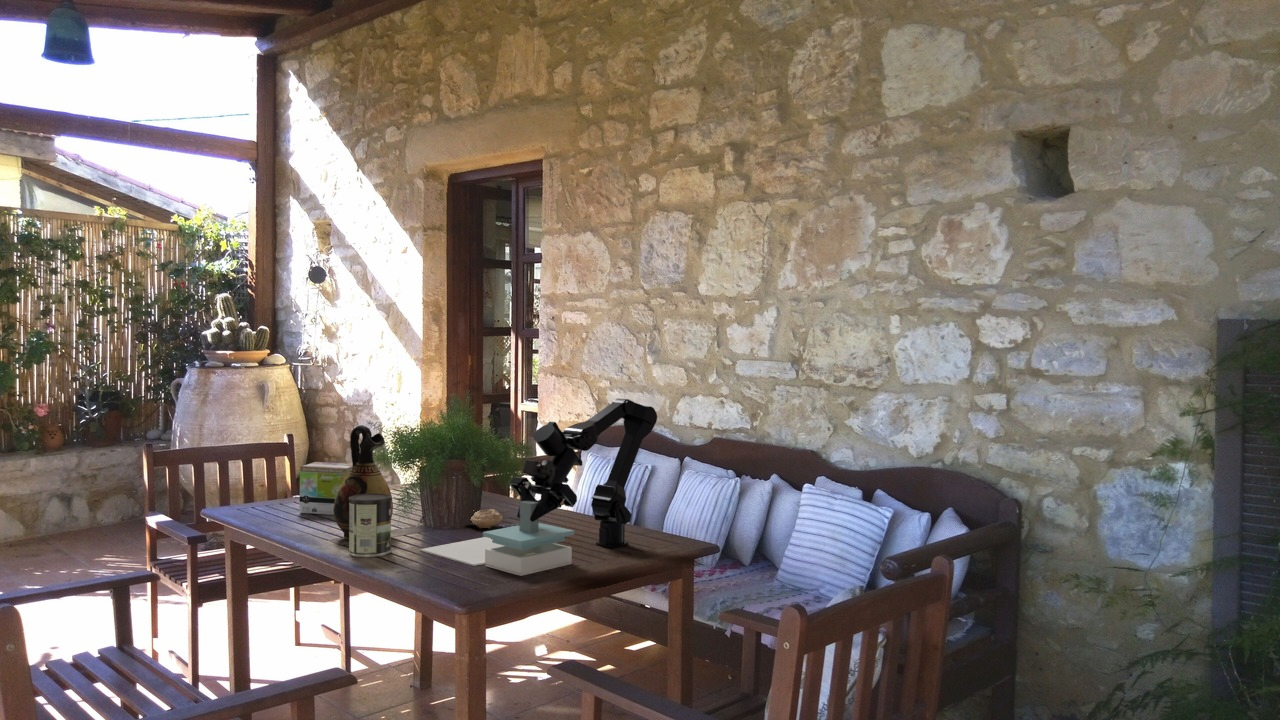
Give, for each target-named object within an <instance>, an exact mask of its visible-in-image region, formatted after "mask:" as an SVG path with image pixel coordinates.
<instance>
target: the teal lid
mask: <svg viewBox="0 0 1280 720" xmlns="http://www.w3.org/2000/svg"><path fill="white" fill-rule="evenodd" d="M538 503H539V501H538V502H533V501H528V500H527V501H521V500H520V501H519V506H520V519H519V521H518V522H519V525H513V526H508V527H504V528H499V529H493V530H492V529H491V530H486V531H483V532H482V537H487V538H492V543H496V544H500V545H504V546H508V547H512V548H516V549H520V550H524V549H529V548H533V547H538V546H543V545H547V544H552V543H555V544H558V543H561V542H565V541H566V539H565V537H569V536H575V529H568V528H565V527H560V526H557V525H556V526H555V525H550V524H547V523H546V524H545V523H542V522H539V521H540V520H539V519H540V518H538V519H537V520H535V521H533V522H532V521H531V520H530V517H531V515H532V513H533V511H534V510H535V508H536V506H537V504H538Z"/></svg>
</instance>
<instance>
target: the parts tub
mask: <svg viewBox="0 0 1280 720" xmlns="http://www.w3.org/2000/svg"><path fill="white" fill-rule="evenodd" d="M572 550H573V549H572V546H568V545H564V544H559V543H552V544H547V545H543V546H538V547H533V548H529V549H524V550H520V549H516V548H512V547H508V546H504V545H503V546H498V547H493V548H488V549H485V564H484V567H488V568H490V569H491V568H492V569H495V570H499V571H502V572H506V573H509V574H513V575H516V576H521V577H522V576H526V575H531V574H534V573H540V572H543V571H547V570H552V569H556V568H560V567H565V566H567V565H572V561H573V560H572V559H573V555H572V554H573V552H572Z"/></svg>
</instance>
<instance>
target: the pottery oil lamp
mask: <svg viewBox="0 0 1280 720" xmlns="http://www.w3.org/2000/svg"><path fill="white" fill-rule="evenodd" d="M470 520H471V521H472V523H473V525H474V524H475V526H476V527H477V528H478V527H479V528H478V529H482V528H488V529H492V528H493V527H494V526H496V525H497V524H499V522H501V521H502V520H503V515H502V514H501V513H500V512H498V510H496V509H495V508H492V509H481V510H479V511H477V512H475V513H474V515H473V516H472V517H471V519H470ZM472 523H471V524H472ZM492 526H493V527H492ZM491 527H492V528H491Z"/></svg>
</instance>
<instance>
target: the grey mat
mask: <svg viewBox="0 0 1280 720" xmlns="http://www.w3.org/2000/svg"><path fill="white" fill-rule="evenodd" d="M498 546H503V545H500V544H496V543H492V539H491V538H487V537H483V536H482V537H478V538H473V539H467V540H462V541H457V542H451V543H447V544H441V545H436V546H429V547H425V548H420V549H419V551H420V552H423V553H427V554H431V555H433V556H436V557H441V558H445V559H448V560H450V561H451V560H452V561H455V562H458V563H461V564H465V565H469V566H472V567H477V566H481V565H485V549H488V548H493V547H498Z"/></svg>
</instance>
